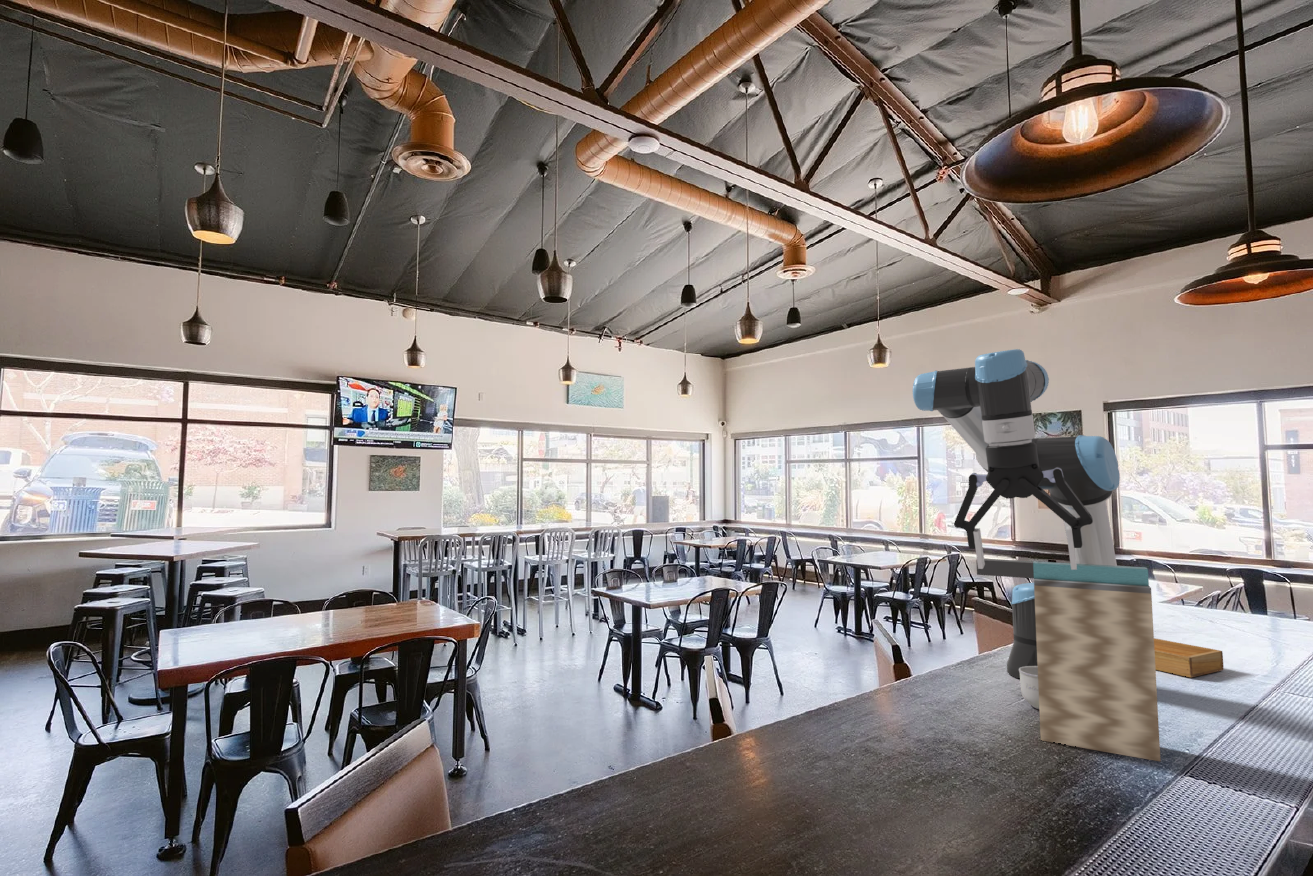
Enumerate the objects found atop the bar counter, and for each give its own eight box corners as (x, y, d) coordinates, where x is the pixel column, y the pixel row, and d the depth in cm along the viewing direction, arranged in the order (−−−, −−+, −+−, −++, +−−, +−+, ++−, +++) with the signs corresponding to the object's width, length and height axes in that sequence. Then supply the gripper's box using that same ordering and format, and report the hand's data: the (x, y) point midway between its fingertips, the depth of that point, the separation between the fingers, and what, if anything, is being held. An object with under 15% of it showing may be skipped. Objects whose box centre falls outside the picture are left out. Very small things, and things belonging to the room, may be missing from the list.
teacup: (1021, 711, 136) (1019, 673, 136) (1019, 696, 145) (1017, 660, 146) (1099, 723, 129) (1098, 683, 130) (1092, 706, 139) (1090, 669, 139)
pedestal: (1040, 740, 121) (1033, 580, 123) (1040, 726, 128) (1034, 574, 130) (1160, 761, 111) (1151, 588, 114) (1153, 745, 118) (1144, 581, 120)
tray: (1067, 651, 186) (1066, 631, 186) (1099, 645, 192) (1098, 626, 192) (1190, 681, 158) (1189, 657, 158) (1224, 673, 164) (1222, 651, 164)
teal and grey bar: (977, 574, 130) (976, 559, 130) (978, 572, 133) (977, 558, 133) (1148, 586, 116) (1147, 569, 116) (1146, 583, 118) (1145, 567, 118)
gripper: (926, 452, 111) (942, 572, 111) (1100, 437, 97) (1117, 574, 97) (934, 447, 117) (950, 561, 118) (1099, 432, 103) (1115, 561, 104)
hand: (1026, 567), depth 108 cm, fingers open, 13 cm apart
